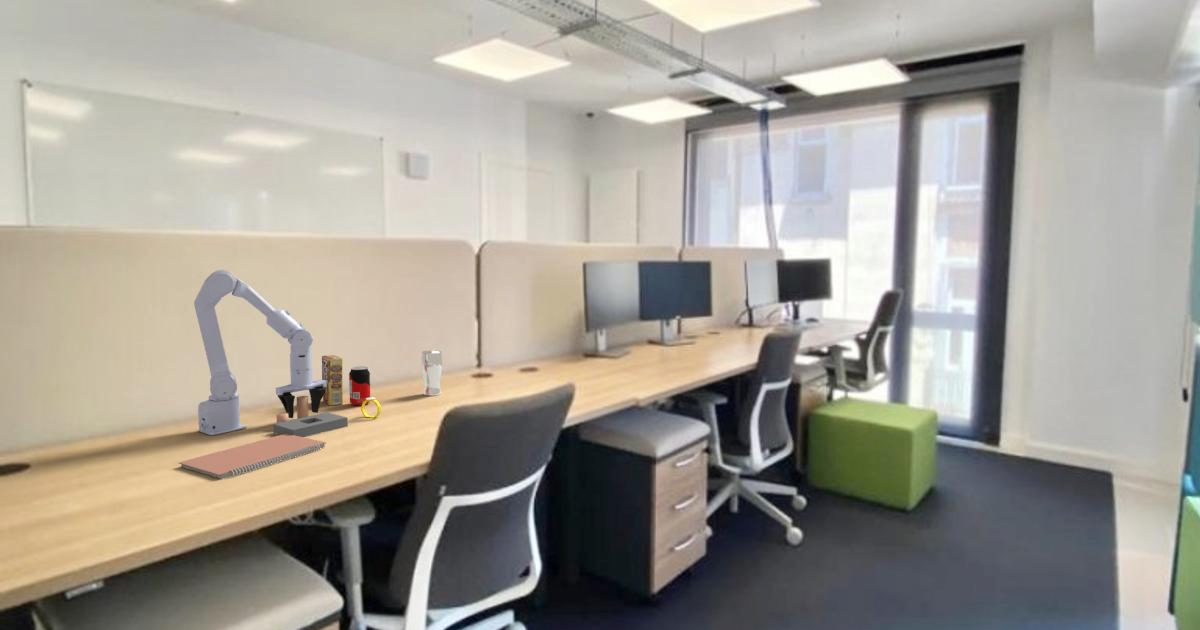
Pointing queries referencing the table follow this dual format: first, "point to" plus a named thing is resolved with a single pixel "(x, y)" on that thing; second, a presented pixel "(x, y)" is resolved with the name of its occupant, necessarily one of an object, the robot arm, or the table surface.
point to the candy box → (332, 379)
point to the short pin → (282, 417)
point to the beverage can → (359, 385)
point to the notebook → (252, 455)
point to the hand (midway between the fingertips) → (302, 414)
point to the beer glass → (432, 372)
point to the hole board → (311, 424)
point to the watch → (374, 402)
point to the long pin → (302, 406)
